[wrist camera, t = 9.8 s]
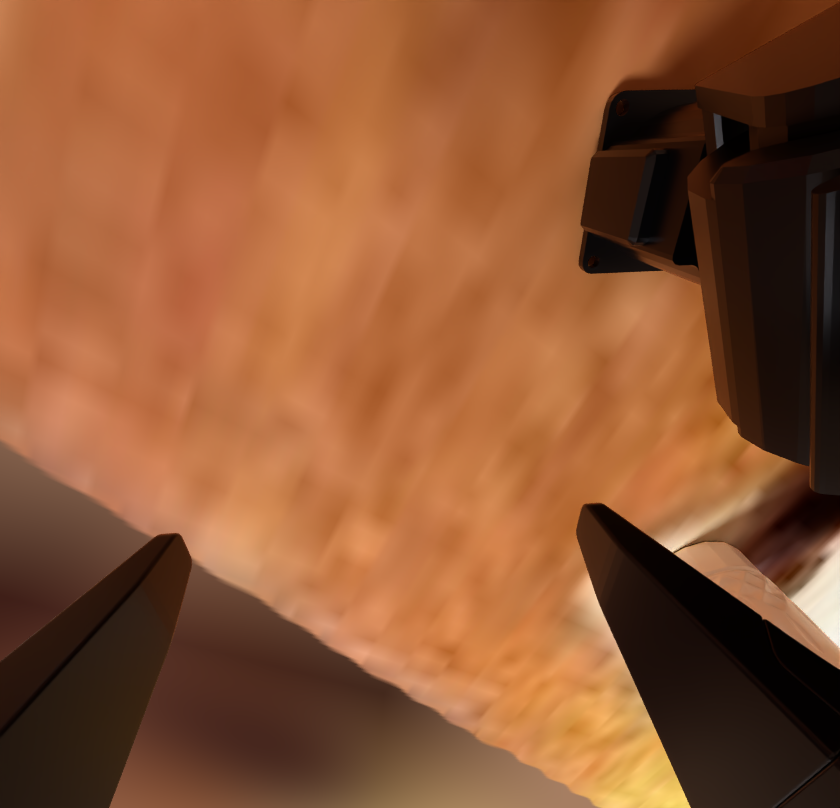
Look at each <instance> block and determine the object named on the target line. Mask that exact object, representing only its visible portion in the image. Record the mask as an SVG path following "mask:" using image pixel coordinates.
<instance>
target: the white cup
mask: <svg viewBox="0 0 840 808" xmlns="http://www.w3.org/2000/svg"><path fill="white" fill-rule="evenodd" d="M674 554H675V555H676V556H678V557H679V558H681V559H682V560H683V561H685V562H686V563H688V564H689V565H690V566H692V567H693V568H695V569H696V570H697V571H699V572H700V573H702V574H703V575H705V576H706V577H707V578H709V579H710V580H712V581H713V582H714V583H716V584H717V585H719V586H720V587H721V588H723V589H724V590H726V591H727V592H729V593H730V594H731V595H733V596H734V597H736V598H737V599H738V600H740V601H741V602H743V603H744V604H745V605H747V606H748V607H750V608H751V609H752V610H754V611H755V612H757V613H758V614H760V615H761V616H762V618H763V619H767V620H768V621H770V622H771V623H772V624H774V625H775V626H777V627H778V628H780V629H781V630H782V631H784V632H785V633H787V634H788V635H789V636H791V637H792V638H794V639H795V640H797V641H798V642H800V643H801V644H803V645H804V646H805V647H807V648H808V649H810V650H811V651H813V652H814V653H816V654H817V655H819V656H820V657H821V658H823V659H825V660H826V661H828V662H829V663H831V664H832V665H834V666H835V667H837V668H838V669H840V648H839V647H838V646H837V645H836V644H835V643H834V642H833V641H832V640H831V639H830V638H829V637H828V636H827V635H826V634H825V633H824V632H823V631H822V630H821V629H820V628H819V627H818V626H817V625H816V624H815V623H814V622H813V621H812V620H811V619H810V618H809V617H808V616H807V615H806V614H805V613H804V612H803V611H802V610H801V609H800V608H799V607H798V606H797V605H796V604H795V603H794V602H792V601H791V600H790V599H789V598H788V597H787V596H786V595H785V594H784V593H783V592H782V591H781V590H780V589H779V588H778V587H777V586H776V585H775V584H774V583H773V582H772V581H770V580H769V579H768V578H767V577H766V576H764V575H762V573H761V572H760V571H759V570H758V569H757V568H756V567H755V566H754V565H753V564H752V563H751V562H750V561H749V560H748V559H747V558H746V557H745V556H744V555H743V554H742V553H741V552H740V551H739V550H738V549H737V548H735V547H733V546H731V545H729V544H727V543H725V542H703V543H699V544H695V545H692V546H688V547H685V548H683V549H681V550H679V551H678V552H676V553H674Z"/></svg>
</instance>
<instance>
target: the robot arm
mask: <svg viewBox="0 0 840 808" xmlns="http://www.w3.org/2000/svg"><path fill="white" fill-rule="evenodd" d="M619 101H622V102H623V104H624V110H623V112H622V114H621V115H620V116H619V115H617V113H616V106H617V103H618V102H619ZM581 226H582V227H583V229H584V233H583V238H582V244H581V250H580V256H579V266H580V268H581V269H582V270H583V271H585V272H587V273H591V274H595V273H618V272H641V271H666V272H669V273H671V274H674V275H676V276H679V277H681V278H684V279H687V280H689V281H692V282H694V283H697V284H699V285H701V288H702V295H703V302H704V309H705V316H706V323H707V330H708V338H709V345H710V352H711V359H712V366H713V373H714V380H715V387H716V394H717V401H718V403H719V404H720V405H721V407H722V408H723V410H724V411H725V412H726V414H727V415H728V417H729V418H730V419H731V421H732V422H733V423H734V424H736V425H737V427H738V433H739V434H740V436H741V437H743V438H744V439H746V440H748V441H749V442H751V443H753V444H754V445H756V446H758V447H759V448H761V449H762V450H765V451H767V452H770V453H772V454H775V455H778V456H780V457H783V458H785V459H788V460H791V461H793V462H796V463H799V464H803V465H806V466H810V488H811V489H812V490H813V491H814V492H817V493H819V494H828V495H840V2H839V3H838V4H836V5H834V6H832V7H831V8H829V9H827V10H825V11H824V12H822V13H820V14H818V15H816V16H815V17H813V18H811V19H809V20H808V21H806V22H804V23H802V24H801V25H799V26H797V27H795V28H793V29H792V30H790V31H788V32H786V33H785V34H783V35H781V36H779V37H778V38H776V39H774V40H772V41H770V42H769V43H767V44H765V45H763V46H762V47H760V48H758V49H756V50H755V51H753V52H751V53H749V54H747V55H746V56H744V57H742V58H740V59H739V60H737V61H735V62H733V63H732V64H730V65H728V66H726V67H724V68H723V69H721V70H719V71H717V72H716V73H714V74H712V75H710V76H709V77H707V78H705V79H703V80H701V81H700V82H698V83H697V84H695V89H693V90H635V91H623V92H619V93H615V94H614V95H613V96H611V97H610V98H609V100H608V101H607V103H606V106H605V109H604V114H603V120H602V126H601V132H600V138H599V144H598V150H597V152H596V154H595V155H594V156H593V157H592V158H591V162H590V168H589V175H588V181H587V187H586V193H585V199H584V205H583V211H582V217H581ZM593 256H595V262H594V263H593V264H592V265H590V266H588V261H589V259H590V258H591V257H593ZM576 534H577V539H578V542H579V545H580V548H581V551H582V554H583V558H584V561H585V564H586V567H587V570H588V573H589V576H590V579H591V582H592V585H593V588H594V591H595V594H596V596H597V599H598V602H599V604H600V607H601V609H602V611H603V614H604V616H605V618H606V620H607V623H608V625H609V627H610V629H611V632H612V634H613V636H614V638H615V640H616V643H617V645H618V647H619V649H620V652H621V654H622V656H623V658H624V660H625V663H626V665H627V667H628V669H629V671H630V674H631V676H632V678H633V680H634V683H635V685H636V687H637V689H638V691H639V694H640V696H641V698H642V700H643V703H644V705H645V707H646V709H647V711H648V714H649V716H650V718H651V720H652V723H653V725H654V727H655V729H656V731H657V734H658V736H659V738H660V740H661V742H662V745H663V747H664V749H665V751H666V754H667V756H668V758H669V760H670V762H671V765H672V767H673V769H674V771H675V774H676V776H677V778H678V780H679V782H680V785H681V787H682V789H683V791H684V793H685V796H686V798H687V800H688V802H689V805H690V807H691V808H840V669H838V668H837V667H835V666H834V665H832V664H831V663H829V662H828V661H826V660H825V659H823V658H821V657H820V656H819V655H817V654H816V653H814V652H813V651H811V650H810V649H808V648H807V647H805V646H804V645H803V644H801V643H800V642H798V641H797V640H795V639H794V638H792V637H791V636H789V635H788V634H787V633H785V632H784V631H782V630H781V629H780V628H778V627H777V626H775V625H774V624H772V623H771V622H770V621H768V620H767V619H763V618H762V616H761V615H760V614H758V613H757V612H755V611H754V610H752V609H751V608H750V607H748V606H747V605H745V604H744V603H743V602H741V601H740V600H738V599H737V598H736V597H734V596H733V595H731V594H730V593H729V592H727V591H726V590H724V589H723V588H721V587H720V586H719V585H717V584H716V583H714V582H713V581H712V580H710V579H709V578H707V577H706V576H705V575H703V574H702V573H700V572H699V571H697V570H696V569H695V568H693V567H692V566H690V565H689V564H688V563H686V562H685V561H683V560H682V559H681V558H679V557H678V556H676V555H675V554H674V553H672V552H671V551H669V550H668V549H666V548H665V547H664V546H662V545H661V544H659V543H658V542H657V541H655V540H654V539H652V538H651V537H650V536H648V535H647V534H645V533H644V532H643V531H641V530H640V529H638V528H637V527H635V526H634V525H633V524H631V523H630V522H628V521H627V520H626V519H624V518H623V517H621V516H620V515H619V514H617V513H616V512H614V511H613V510H611V509H610V508H609V507H607V506H606V505H604V504H602V503H589V504H584V505H583V506H582V509H581V512H580V516H579V520H578V524H577V529H576ZM191 567H192V559H191V556H190V554H189V551H188V549H187V547H186V545H185V542H184V540H183V538H182V536H181V535H180V534H178V533H169V534H160V535H157V536H156V537H154V538H153V539H152V540H150V541H149V542H148V543H147V544H145V545H144V546H143V547H142V548H140V549H139V550H138V551H137V552H136V553H134V554H133V555H132V556H131V557H129V558H128V559H127V560H126V561H124V562H123V563H122V564H121V565H120V566H118V567H117V568H116V569H114V570H113V571H112V572H111V573H110V574H108V575H107V576H106V577H105V578H103V579H102V580H101V581H100V582H98V583H97V584H96V585H95V586H93V587H92V588H91V589H90V590H88V591H87V592H86V593H85V594H84V595H82V596H81V597H80V598H78V599H77V600H76V601H75V602H74V603H72V604H71V605H70V606H69V607H67V608H66V609H65V610H64V611H62V612H61V613H60V614H59V615H57V616H56V617H55V618H54V619H52V620H51V621H50V622H49V623H47V624H46V625H45V626H44V627H43V628H41V629H40V630H39V631H38V632H36V633H35V634H34V635H33V636H31V637H30V638H29V639H28V640H26V641H25V642H24V643H23V644H21V645H20V646H19V647H18V648H16V649H15V650H14V651H13V652H12V653H10V654H9V655H8V656H7V657H5V658H4V659H3V660H2V661H0V808H109V807H110V804H111V801H112V798H113V796H114V793H115V791H116V788H117V785H118V783H119V780H120V777H121V775H122V772H123V769H124V767H125V764H126V761H127V759H128V756H129V753H130V751H131V748H132V746H133V743H134V740H135V738H136V735H137V732H138V730H139V727H140V724H141V722H142V719H143V717H144V714H145V711H146V708H147V706H148V703H149V701H150V698H151V695H152V693H153V690H154V687H155V685H156V682H157V679H158V676H159V674H160V671H161V669H162V666H163V663H164V661H165V658H166V656H167V653H168V650H169V647H170V645H171V642H172V639H173V635H174V632H175V628H176V625H177V621H178V617H179V613H180V610H181V606H182V602H183V598H184V594H185V590H186V586H187V583H188V579H189V576H190V572H191Z"/></svg>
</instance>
